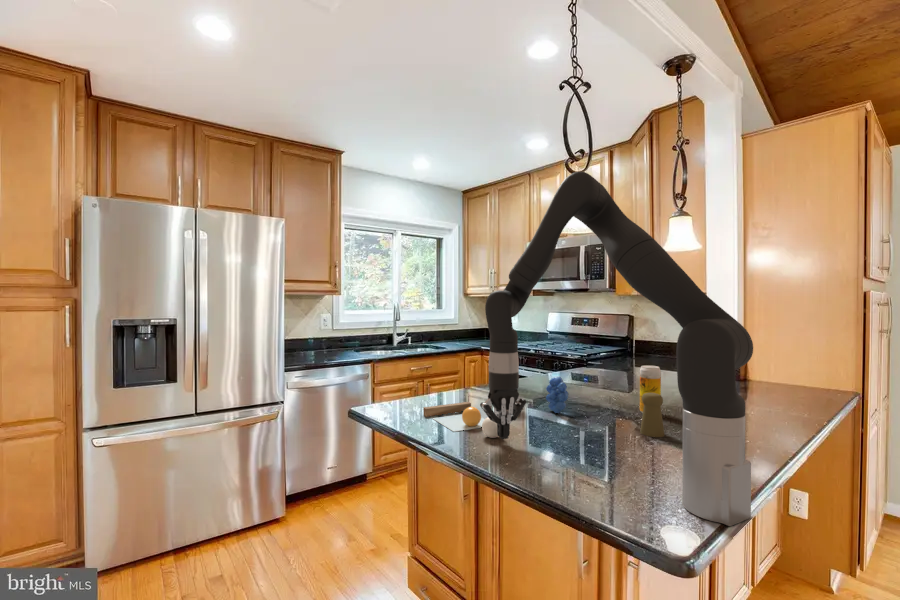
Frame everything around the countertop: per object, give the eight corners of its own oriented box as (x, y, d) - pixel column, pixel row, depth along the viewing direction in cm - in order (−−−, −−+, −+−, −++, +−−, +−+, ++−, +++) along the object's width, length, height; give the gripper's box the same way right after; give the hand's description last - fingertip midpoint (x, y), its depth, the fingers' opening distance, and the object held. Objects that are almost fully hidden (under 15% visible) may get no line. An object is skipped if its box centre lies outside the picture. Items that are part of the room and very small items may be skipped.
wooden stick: (471, 410, 138) (471, 403, 138) (425, 416, 130) (425, 408, 130) (468, 409, 139) (468, 401, 139) (423, 415, 132) (423, 407, 132)
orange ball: (482, 404, 121) (473, 407, 125) (465, 406, 118) (457, 409, 123) (486, 423, 119) (477, 426, 124) (469, 426, 117) (460, 429, 121)
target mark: (496, 425, 122) (496, 424, 122) (453, 432, 116) (453, 431, 116) (472, 413, 134) (472, 412, 134) (432, 418, 128) (432, 418, 128)
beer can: (635, 412, 136) (635, 365, 136) (648, 410, 139) (648, 364, 139) (651, 417, 131) (651, 368, 131) (665, 414, 133) (665, 367, 133)
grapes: (578, 417, 130) (578, 378, 130) (558, 419, 128) (558, 379, 128) (559, 408, 141) (560, 372, 141) (541, 409, 140) (541, 373, 140)
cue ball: (498, 411, 114) (494, 428, 116) (480, 412, 112) (476, 430, 113) (508, 423, 109) (504, 441, 111) (490, 425, 107) (485, 443, 109)
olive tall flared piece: (667, 438, 111) (667, 396, 111) (643, 436, 112) (643, 395, 112) (660, 430, 117) (661, 391, 117) (637, 429, 118) (637, 390, 118)
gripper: (489, 374, 100) (488, 446, 100) (533, 369, 106) (533, 438, 106) (473, 369, 107) (473, 437, 107) (516, 365, 113) (516, 430, 113)
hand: (503, 438), depth 106 cm, fingers closed
